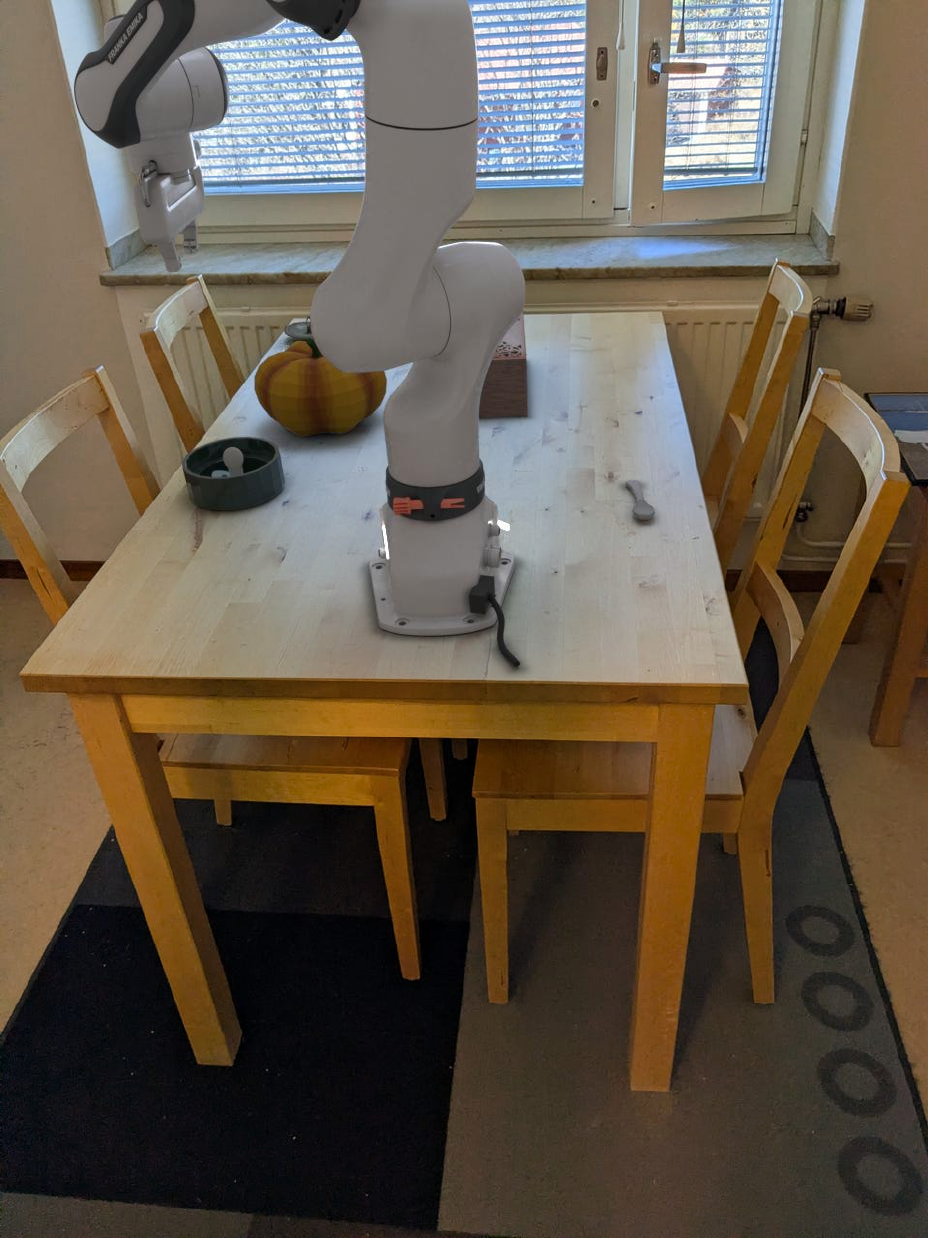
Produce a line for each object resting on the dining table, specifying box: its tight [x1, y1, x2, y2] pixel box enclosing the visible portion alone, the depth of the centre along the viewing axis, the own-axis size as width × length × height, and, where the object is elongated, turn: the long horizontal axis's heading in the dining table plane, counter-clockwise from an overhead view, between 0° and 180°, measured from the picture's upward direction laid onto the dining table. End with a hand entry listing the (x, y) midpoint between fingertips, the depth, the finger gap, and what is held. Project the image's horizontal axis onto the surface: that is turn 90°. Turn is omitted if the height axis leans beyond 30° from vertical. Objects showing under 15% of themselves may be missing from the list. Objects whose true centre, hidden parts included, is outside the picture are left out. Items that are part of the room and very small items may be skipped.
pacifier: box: [212, 447, 244, 477], centre depth 145 cm, size 7×6×6 cm
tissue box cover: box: [479, 309, 529, 420], centre depth 173 cm, size 26×14×10 cm, turn 178°
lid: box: [283, 315, 315, 342], centre depth 203 cm, size 11×10×5 cm
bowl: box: [181, 436, 286, 511], centre depth 146 cm, size 14×14×6 cm
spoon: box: [625, 479, 656, 521], centre depth 137 cm, size 3×12×2 cm, turn 1°
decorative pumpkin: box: [253, 338, 388, 437], centre depth 163 cm, size 20×22×15 cm
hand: (183, 261), depth 139 cm, fingers open, 8 cm apart
